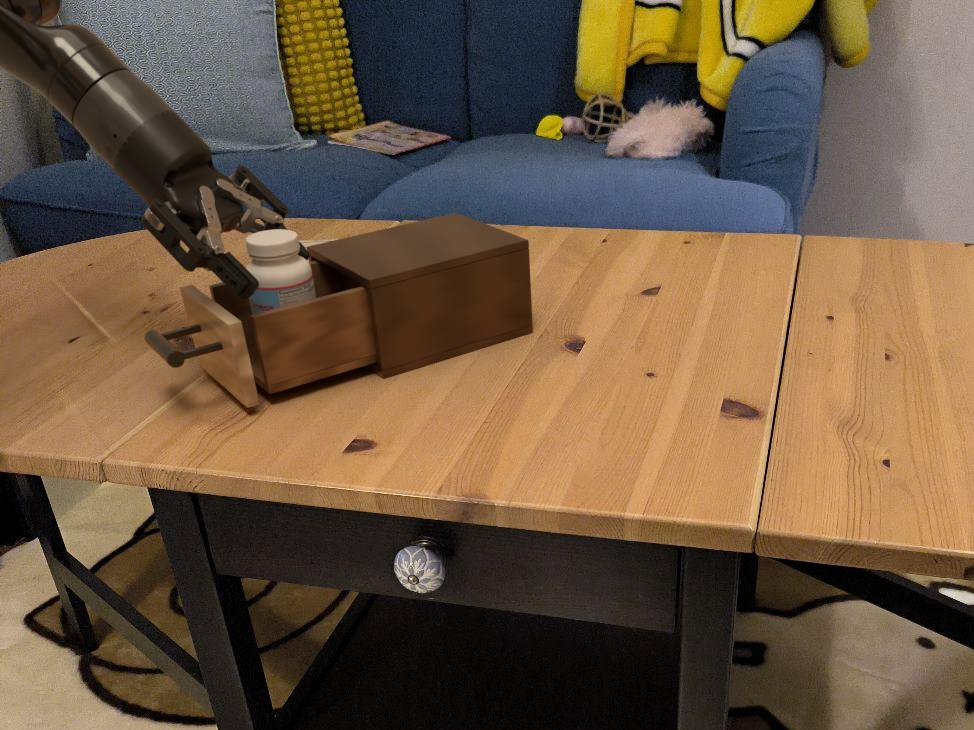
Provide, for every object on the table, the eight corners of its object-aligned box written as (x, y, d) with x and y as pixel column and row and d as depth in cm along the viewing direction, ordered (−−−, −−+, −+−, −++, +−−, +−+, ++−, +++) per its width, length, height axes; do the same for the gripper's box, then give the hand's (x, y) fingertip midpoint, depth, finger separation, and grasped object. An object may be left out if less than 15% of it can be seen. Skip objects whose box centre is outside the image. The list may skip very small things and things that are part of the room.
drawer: (192, 424, 83) (170, 339, 79) (148, 379, 92) (125, 300, 88) (409, 359, 94) (399, 280, 89) (351, 323, 102) (339, 249, 98)
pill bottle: (251, 352, 94) (226, 235, 87) (309, 336, 96) (288, 222, 90) (276, 371, 89) (251, 251, 83) (336, 354, 92) (316, 236, 86)
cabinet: (383, 378, 92) (369, 280, 87) (322, 337, 101) (306, 246, 96) (533, 332, 100) (528, 239, 95) (463, 298, 110) (456, 212, 104)
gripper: (104, 124, 78) (254, 275, 80) (210, 94, 89) (338, 228, 92) (71, 189, 82) (215, 330, 85) (176, 153, 93) (299, 279, 96)
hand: (279, 277), depth 88 cm, fingers open, 8 cm apart
